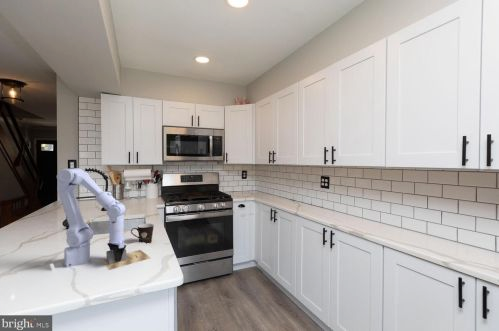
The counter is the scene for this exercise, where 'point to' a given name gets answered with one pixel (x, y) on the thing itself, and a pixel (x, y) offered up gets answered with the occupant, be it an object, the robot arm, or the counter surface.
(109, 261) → the sanding block
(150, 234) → the coffee mug
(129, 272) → the counter surface
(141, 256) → the oak board
